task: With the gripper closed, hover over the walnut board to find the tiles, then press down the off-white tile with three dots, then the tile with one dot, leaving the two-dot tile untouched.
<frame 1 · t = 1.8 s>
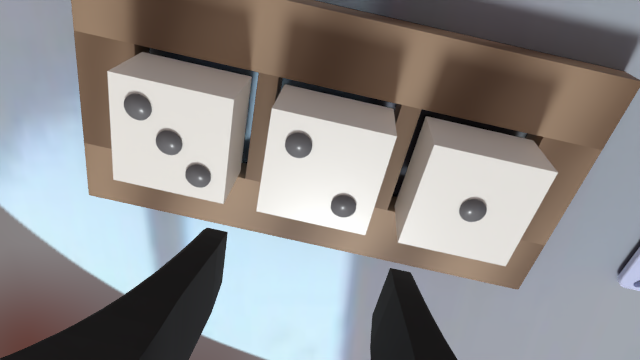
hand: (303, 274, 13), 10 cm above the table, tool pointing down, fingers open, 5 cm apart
tile board: (330, 133, 22), on the table
three dot tile: (182, 128, 19), point 3 cm above the table, slide at 0.0 cm
one dot tile: (465, 191, 20), point 3 cm above the table, slide at 0.0 cm
two dot tile: (324, 160, 20), point 3 cm above the table, slide at 0.0 cm
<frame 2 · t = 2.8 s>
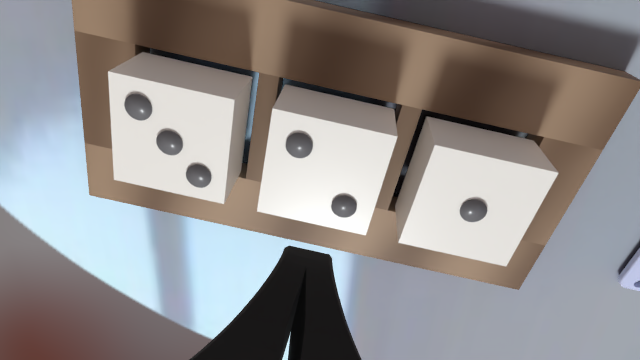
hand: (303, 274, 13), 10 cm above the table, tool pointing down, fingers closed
tile board: (330, 133, 22), on the table
three dot tile: (183, 128, 19), point 3 cm above the table, slide at 0.0 cm
one dot tile: (466, 192, 20), point 3 cm above the table, slide at 0.0 cm
two dot tile: (325, 160, 20), point 3 cm above the table, slide at 0.0 cm
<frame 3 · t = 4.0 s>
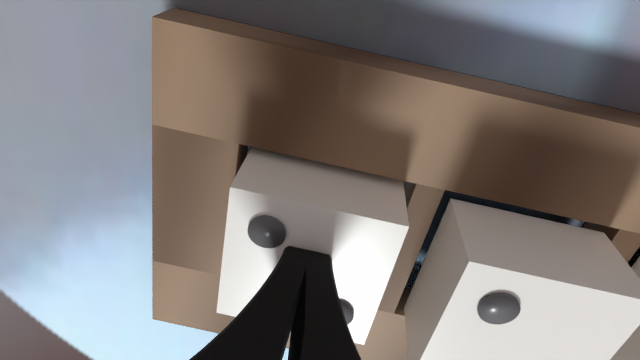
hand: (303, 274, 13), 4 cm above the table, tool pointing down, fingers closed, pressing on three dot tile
tile board: (486, 247, 16), on the table
three dot tile: (309, 243, 14), point 2 cm above the table, slide at 0.9 cm, touching gripper
two dot tile: (508, 307, 14), point 3 cm above the table, slide at 0.0 cm
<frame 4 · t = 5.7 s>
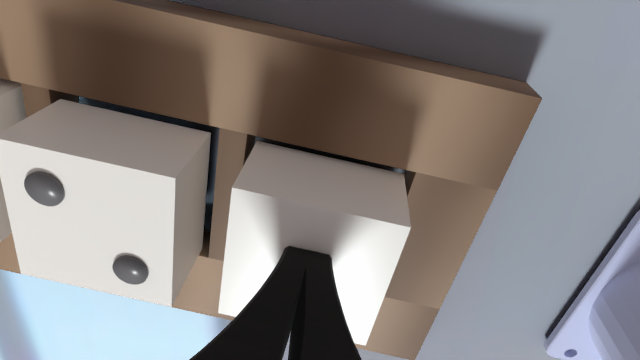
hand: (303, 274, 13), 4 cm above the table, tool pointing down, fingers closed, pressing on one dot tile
tile board: (154, 161, 17), on the table
one dot tile: (311, 244, 14), point 3 cm above the table, slide at 0.2 cm, touching gripper
two dot tile: (115, 203, 14), point 3 cm above the table, slide at 0.0 cm
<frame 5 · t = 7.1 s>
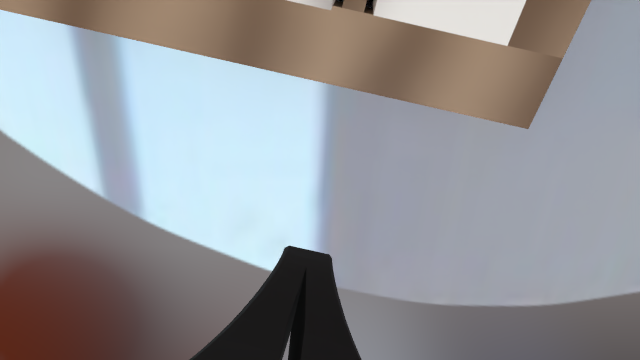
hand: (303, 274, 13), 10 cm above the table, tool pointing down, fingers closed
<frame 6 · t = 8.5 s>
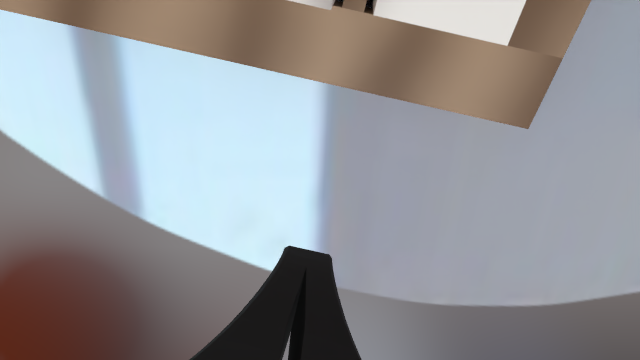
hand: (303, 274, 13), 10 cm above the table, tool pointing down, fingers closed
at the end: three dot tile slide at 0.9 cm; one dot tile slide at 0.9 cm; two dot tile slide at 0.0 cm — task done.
